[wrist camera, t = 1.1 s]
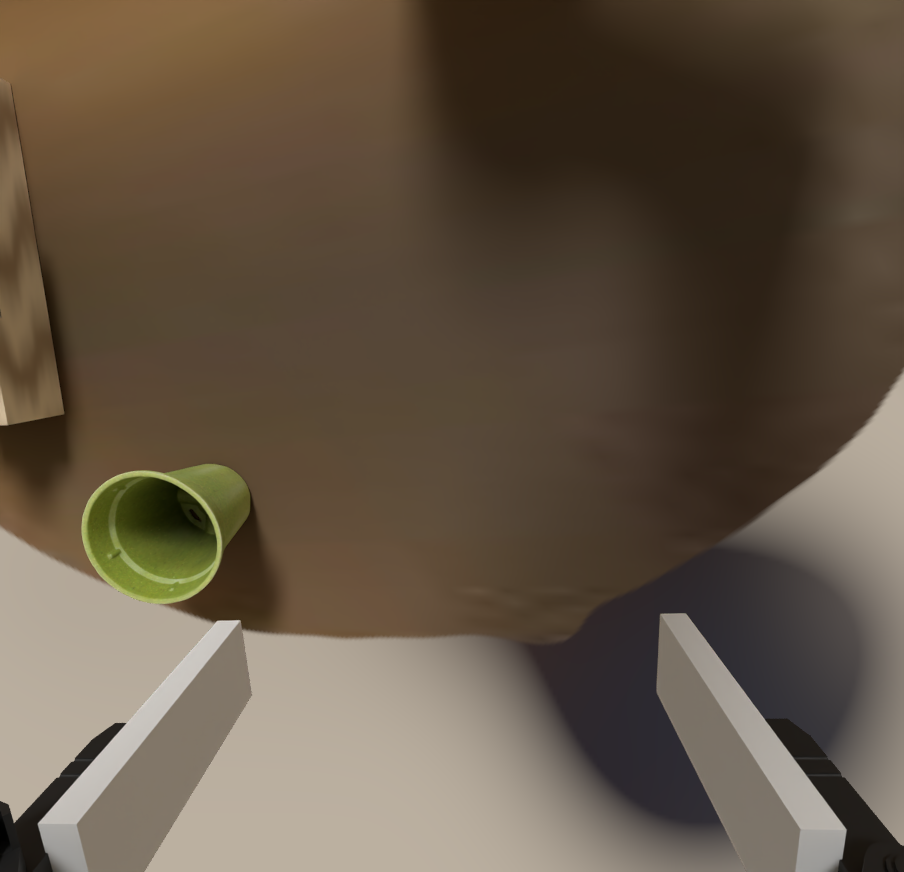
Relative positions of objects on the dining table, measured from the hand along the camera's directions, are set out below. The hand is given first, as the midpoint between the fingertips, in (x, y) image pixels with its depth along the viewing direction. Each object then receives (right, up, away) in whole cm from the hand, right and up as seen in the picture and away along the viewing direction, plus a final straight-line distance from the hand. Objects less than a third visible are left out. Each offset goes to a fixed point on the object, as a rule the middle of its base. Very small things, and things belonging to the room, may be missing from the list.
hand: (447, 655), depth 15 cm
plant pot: (-19, +2, +26) cm, 32 cm away
